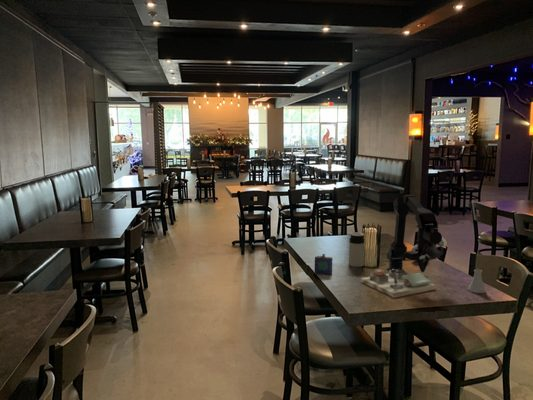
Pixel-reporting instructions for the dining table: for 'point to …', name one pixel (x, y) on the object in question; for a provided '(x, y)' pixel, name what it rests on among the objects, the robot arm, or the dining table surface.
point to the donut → (414, 249)
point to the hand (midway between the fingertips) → (422, 272)
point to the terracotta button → (379, 273)
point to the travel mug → (356, 249)
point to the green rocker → (416, 279)
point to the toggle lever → (394, 275)
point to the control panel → (392, 289)
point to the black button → (398, 271)
